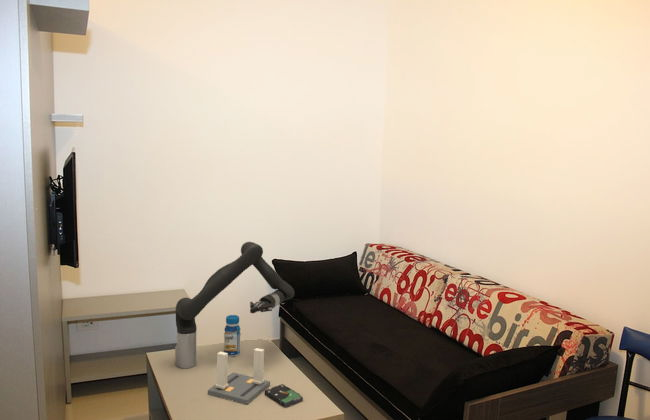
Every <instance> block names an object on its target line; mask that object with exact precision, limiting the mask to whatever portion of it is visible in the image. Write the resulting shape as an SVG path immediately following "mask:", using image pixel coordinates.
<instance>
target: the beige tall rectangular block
mask: <svg viewBox="0 0 650 420" xmlns="http://www.w3.org/2000/svg"><path fill="white" fill-rule="evenodd" d="M252 371H253V373H252V375H253V376H252V377H253V380H252V383H255V384H259V385H261V384H262V383H263V382H264V380H265V379H264V377H265V376H264V374H265V373H264V371H265V349H264V348H257V347H256V348H255V349H253V369H252Z"/></svg>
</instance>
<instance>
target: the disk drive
mask: <svg viewBox="0 0 650 420" xmlns="http://www.w3.org/2000/svg"><path fill="white" fill-rule="evenodd" d="M264 396H265V397H267V398H268V399H270V400H272V401H273V402H275V403H276V404H278V405H279V406H281V407H282V408H284V409H286V408H288V407H291V406H293V405H296V404H299V403H301V402H303V401H304V398H303V395H301V393H298V392H297V391H295V390H293V389H292V388H290V387H288V386H287V385H286V384H283V383H282V384H278V385H276V386H272V388H267V389H265V390H264Z"/></svg>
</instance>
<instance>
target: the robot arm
mask: <svg viewBox="0 0 650 420" xmlns="http://www.w3.org/2000/svg"><path fill="white" fill-rule="evenodd" d="M240 253H241V255H240V256H238V258H237V259H235V260H234V261H231V262H230V263H228V264H225V265H224V266H221V268H219V269H217V270H216V271H215V272H214V273H212V275H210V277H208V279H207V280H206V282H205V284H204V286H203V287H202V289H201V290H200V291H199V293H197V294H196V295H195V296H193V298H190V297H182V298H180V299H179V300H178V301H177V303H176V305H175V324H176V325H175V326H176V345H175V346H174V348H175V349H174V350H175V351H174V355H175V356H174V365H176V366H177V367H178V368H180V369H191V368H193V367H195V366H196V365H197V327H198V326H197V324H196V320H195V318H196V317H197V316H199V314H200V313H201V312H202V311H203V310H204V308H206V307H207V306H208V304H210V302H211V301H213V300H214V299H215V298H216V297H217V296H219V294H220V293H222V291H224V290H225V289H226V288H227V287H228V286H230V284H232V283H233V281H235V280H236V279H237V278H239V276H241V275H242V273H244V271H246V270H247V269H249V268H250V267H251V266H253V267H254V268H255V269H256V270H257V271H258V273H259V274H260V275H261V276H262V278H263V279H264V280H265V282H266V283H267V284H268V286H269V287H270V288H271V289H273V290H274V291H272V292H271V293H268V294H266V295H264V296H262V297H260V298H259V300H258V301H256V302H253V301H250V302H249V307H250V309H249V312H250V314H255V313H259V312H261V313H265V312H272V311H273V309H275V308H277V307H278V305H280V304H282V303H283V302H284V301H288V300H290V299H293V298H294V297H295V290H294V288H293V287H292V286H291V285H290V284H289V283H287V282H286V281H285V280H284V279H282V278H281V276H280V275H279V274H278V273H277V271H276V270H275V269H274V268H273V267H272V266H271V265H270V264H269V263H268V262H267V261H266V260H265V259H264V258H263V253H264V250H263V247H262V246H261V245H260V244H258V243H256V242H252V241H246V242H244V243H242V245H241V247H240Z"/></svg>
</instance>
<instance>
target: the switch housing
mask: <svg viewBox="0 0 650 420" xmlns="http://www.w3.org/2000/svg"><path fill="white" fill-rule="evenodd" d="M252 380H253V376H249V375H246V374H242V373H239V372H234V371H233V372H231V373H229V374H228V375H227V384H228V387H226V388H225V389H221V388H217V387H215V385H216V384H214V385H213V386H212V387H209V389H207V394H208V395H209V396H210V395H211V396H213V397H217V398H220V397H221V398H220V399H224V398H226V399H225V400H228V399H229V401H231V400H233V401H232V402H235V401H236V402H235V403H239V404H242V403H243V405H249V404H250V403H251V402H252V401H253V400H254V399H256V398H257V397H258V396H260V395H261V394H262V393H263V392H265V390H267V389H269V387H270V386H271V381H270V380H266V379H264V382H263V383H262V384H261V385H259V384H255V383H252Z"/></svg>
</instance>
